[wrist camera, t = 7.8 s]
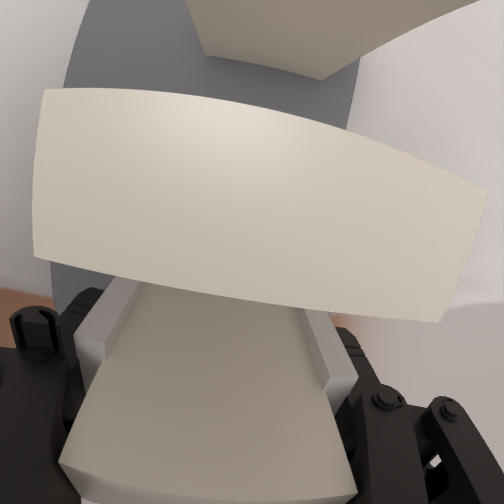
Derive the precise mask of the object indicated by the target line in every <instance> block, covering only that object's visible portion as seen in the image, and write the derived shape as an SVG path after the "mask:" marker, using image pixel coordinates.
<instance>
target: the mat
mask: <svg viewBox="0 0 504 504" xmlns="http://www.w3.org/2000/svg"><path fill="white" fill-rule="evenodd" d="M359 61H360V58H358V59H357V60H355V61H353V62H352V63H350V64H348V65H347V66H345V67H343V68H342V69H340V70H338V71H337V72H335V73H333V74H332V75H330V76H329V77H327V78H325V79H324V80H322V81H321V80H317V79H314V78H311V77H307V76H304V75H300V74H296V73H292V72H289V71H285V70H281V69H276V68H272V67H268V66H263V65H259V64H254V63H249V62H243V61H238V60H232V59H226V58H220V57H213V56H206V55H205V54H204V52H203V49H202V46H201V43H200V40H199V37H198V35H197V32H196V29H195V26H194V23H193V21H192V18H191V15H190V12H189V9H188V7H187V4H186V1H185V0H90V2H89V4H88V7H87V9H86V12H85V15H84V17H83V20H82V23H81V26H80V29H79V32H78V35H77V38H76V41H75V44H74V48H73V51H72V55H71V58H70V62H69V66H68V70H67V74H66V78H65V82H64V87H63V88H116V89H135V90H149V91H160V92H170V93H179V94H187V95H194V96H201V97H208V98H214V99H220V100H226V101H232V102H237V103H242V104H247V105H252V106H257V107H262V108H266V109H271V110H275V111H279V112H283V113H287V114H291V115H295V116H299V117H303V118H307V119H310V120H314V121H317V122H321V123H324V124H328V125H331V126H334V127H337V128H341V129H344V130H346V125H347V121H348V116H349V112H350V107H351V102H352V97H353V92H354V87H355V82H356V77H357V72H358V67H359ZM50 263H51V276H52V287H53V296H54V304H55V312H57V313H58V315H59V316H60V315H61V313H62V312H63V311H65V309H66V307H67V306H68V305H69V304H70V303H71V301H72V300H73V299H74V298H75V297H76V296H77V294H78V293H80V292H82V291H83V290H85V289H87V288H89V287H94V288H98V289H102V290H106V289H107V287H108V286H109V285H110V283H111V282H112V281H113V279H114V278H115V277H116V276H114V275H109V274H105V273H100V272H96V271H91V270H87V269H82V268H78V267H74V266H70V265H65V264H61V263H57V262H53V261H50Z"/></svg>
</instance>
